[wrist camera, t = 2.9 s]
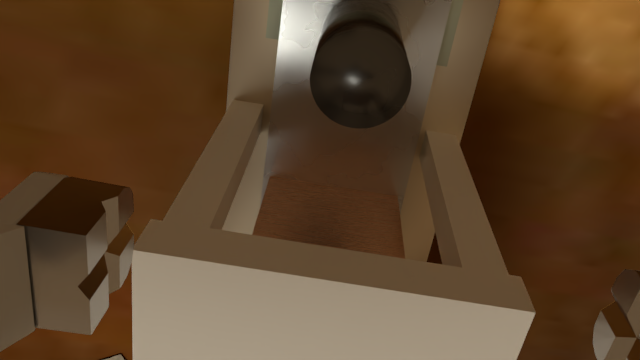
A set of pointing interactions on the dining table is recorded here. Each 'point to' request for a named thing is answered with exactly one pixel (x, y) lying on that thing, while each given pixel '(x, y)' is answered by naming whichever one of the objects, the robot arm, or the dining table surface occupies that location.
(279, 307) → the tunnel
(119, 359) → the condiment
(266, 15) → the track
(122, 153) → the dining table surface
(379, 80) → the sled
